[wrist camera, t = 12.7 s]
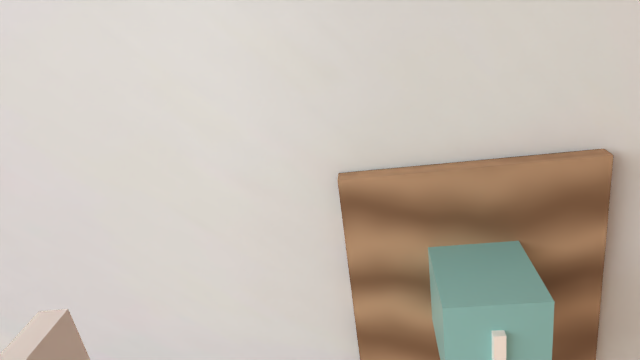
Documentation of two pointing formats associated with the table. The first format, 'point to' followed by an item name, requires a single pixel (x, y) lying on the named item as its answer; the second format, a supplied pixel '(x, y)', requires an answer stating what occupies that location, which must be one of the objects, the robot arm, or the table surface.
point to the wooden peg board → (475, 241)
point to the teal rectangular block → (489, 303)
